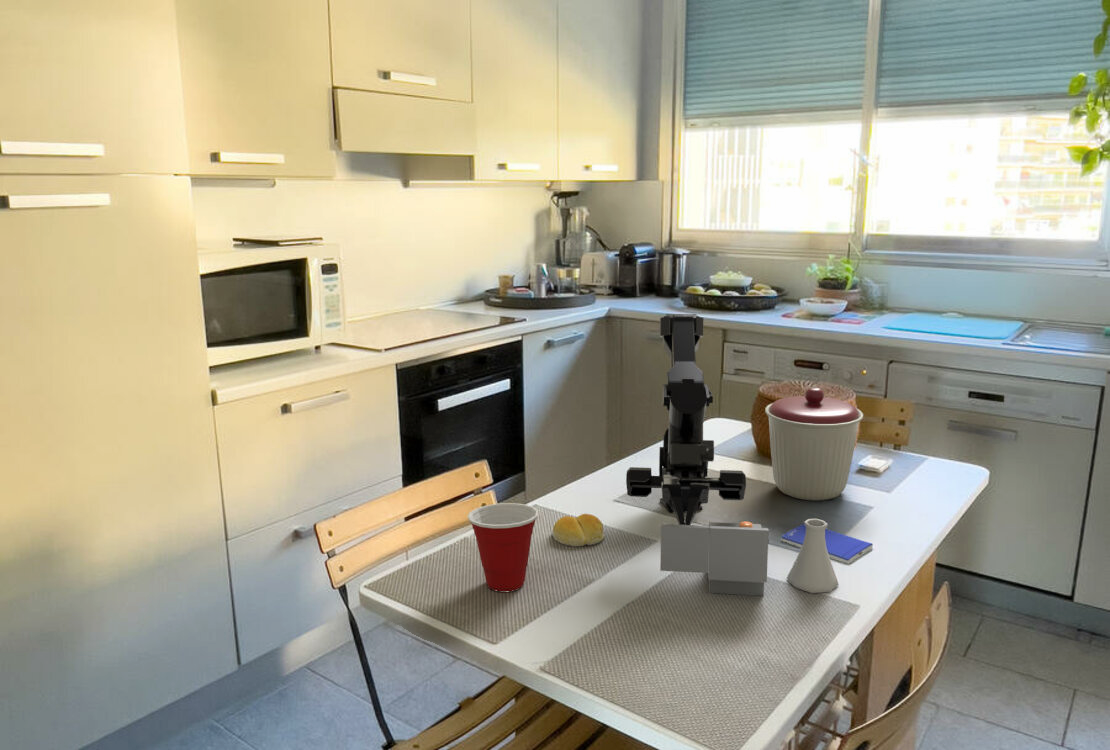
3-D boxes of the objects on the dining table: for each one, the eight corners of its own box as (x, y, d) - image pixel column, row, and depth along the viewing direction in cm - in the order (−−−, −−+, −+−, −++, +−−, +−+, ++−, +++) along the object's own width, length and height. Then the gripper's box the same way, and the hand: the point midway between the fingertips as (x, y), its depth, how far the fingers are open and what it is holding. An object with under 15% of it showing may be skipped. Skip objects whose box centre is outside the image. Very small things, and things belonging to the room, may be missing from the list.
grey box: (707, 568, 136) (709, 516, 133) (758, 571, 134) (761, 518, 132) (709, 594, 127) (710, 539, 125) (763, 597, 126) (766, 541, 124)
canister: (743, 491, 168) (747, 388, 163) (794, 469, 180) (799, 372, 175) (826, 517, 155) (832, 405, 150) (875, 491, 167) (882, 387, 162)
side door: (660, 574, 127) (661, 523, 126) (766, 579, 125) (768, 528, 124) (660, 577, 127) (660, 526, 125) (766, 582, 124) (768, 530, 123)
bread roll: (549, 531, 151) (548, 510, 151) (598, 527, 153) (598, 506, 152) (557, 550, 144) (556, 528, 143) (608, 546, 145) (608, 524, 144)
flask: (811, 598, 126) (815, 536, 123) (778, 579, 132) (780, 519, 130) (847, 587, 129) (851, 526, 126) (812, 568, 135) (816, 509, 133)
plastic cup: (534, 564, 138) (533, 495, 135) (545, 596, 128) (543, 522, 125) (468, 571, 136) (465, 501, 133) (473, 603, 126) (470, 528, 123)
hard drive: (781, 535, 145) (848, 558, 136) (806, 521, 150) (873, 542, 142) (780, 543, 145) (848, 567, 137) (805, 529, 151) (872, 551, 142)
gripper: (627, 419, 135) (622, 510, 126) (747, 422, 132) (750, 515, 124) (629, 451, 144) (625, 538, 136) (742, 454, 141) (744, 543, 133)
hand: (684, 533), depth 132 cm, fingers closed
